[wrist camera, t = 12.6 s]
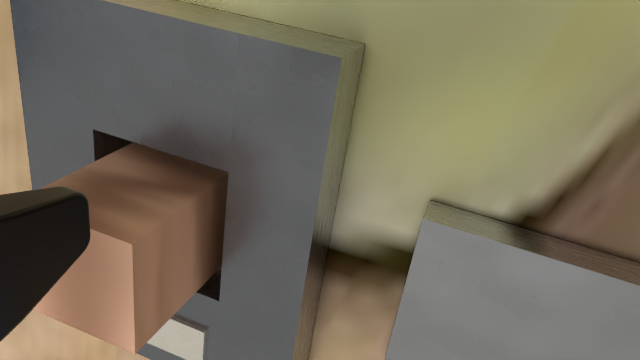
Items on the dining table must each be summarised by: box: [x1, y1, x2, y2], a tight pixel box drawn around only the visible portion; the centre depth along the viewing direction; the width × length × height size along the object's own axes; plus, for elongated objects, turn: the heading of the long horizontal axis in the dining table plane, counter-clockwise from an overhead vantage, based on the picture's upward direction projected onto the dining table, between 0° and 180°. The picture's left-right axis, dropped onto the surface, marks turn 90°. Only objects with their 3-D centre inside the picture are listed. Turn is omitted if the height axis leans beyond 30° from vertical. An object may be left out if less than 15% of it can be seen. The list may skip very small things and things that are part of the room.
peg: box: [33, 142, 229, 354], centre depth 21 cm, size 4×4×7 cm
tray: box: [385, 200, 640, 360], centre depth 20 cm, size 8×8×2 cm
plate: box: [10, 0, 365, 360], centre depth 22 cm, size 13×16×3 cm
